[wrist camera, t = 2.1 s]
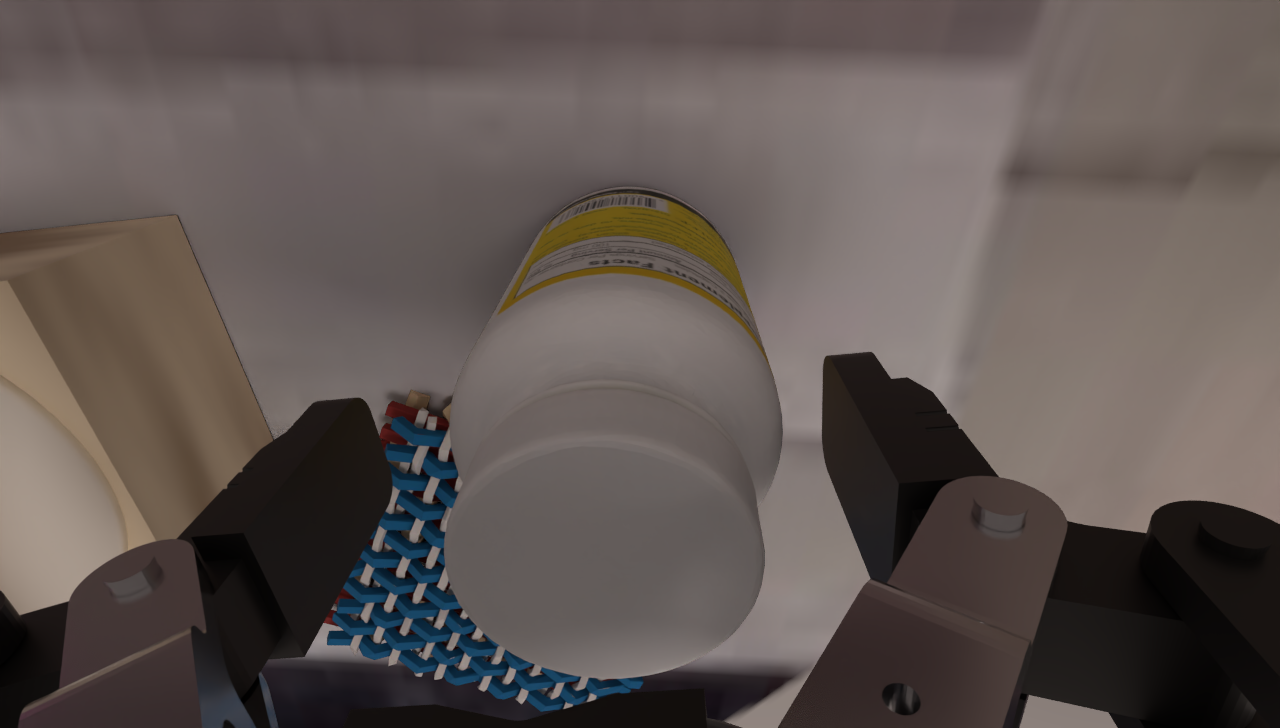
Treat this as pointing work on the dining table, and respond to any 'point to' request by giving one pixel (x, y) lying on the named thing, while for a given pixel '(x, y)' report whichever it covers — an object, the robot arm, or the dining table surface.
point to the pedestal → (109, 400)
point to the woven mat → (434, 581)
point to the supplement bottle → (614, 445)
